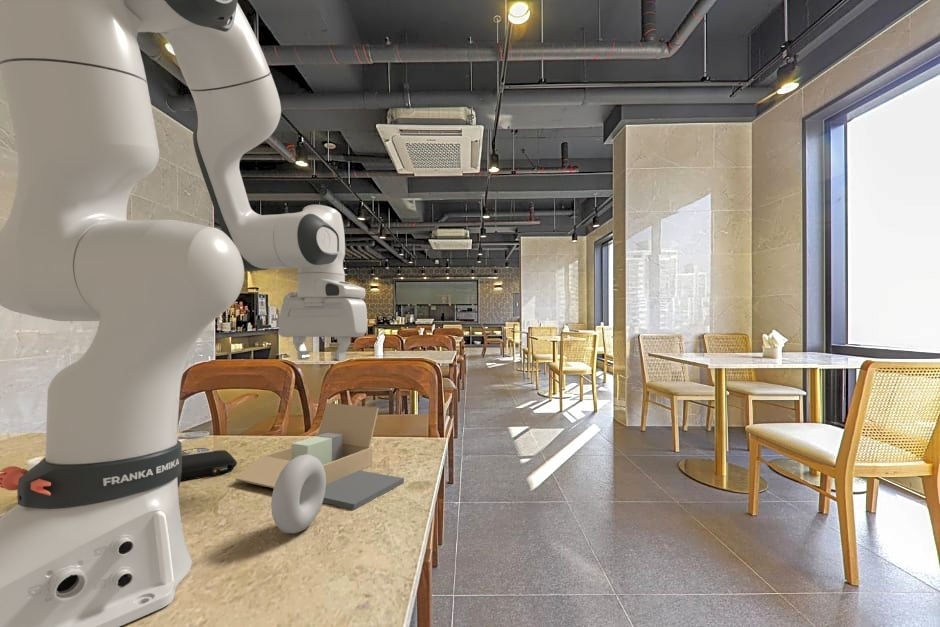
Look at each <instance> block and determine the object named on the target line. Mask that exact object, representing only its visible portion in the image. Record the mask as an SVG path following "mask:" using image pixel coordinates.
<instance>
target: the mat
mask: <svg viewBox="0 0 940 627" xmlns="http://www.w3.org/2000/svg"><path fill="white" fill-rule="evenodd" d="M404 483H405V478H404V477H399V476H394V475H389V474H381V473H377V472H372V471H365V470H359V471H357V472H355V473H352V474H350V475H348V476H345V477H343V478H341V479H338V480H336V481H334V482H331V483H329V484H327V485H326V488H325V495H324V499H323V503H322V504H328V505H333V506H337V507H341V508H345V509H349V510H356V509H358V508H360V507H362V506H364V505H366V504H367V503H368V502H371V501H373V500H375V499H376V498H378V497H380V496H381V495H384V494H386V493H387V492H389V491H391V490H393V489H394V488H396V487H399V486H400V485H403V484H404Z"/></svg>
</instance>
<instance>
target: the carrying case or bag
mask: <svg viewBox="0 0 940 627" xmlns="http://www.w3.org/2000/svg"><path fill="white" fill-rule="evenodd" d="M237 464H238V462H237V460H236V459H235V458H234V457H233V455H231V453H229V452H228V451H227V450H224V449H221V450H211V451H209V452H205V453H198V454H191V455H185V456H182V473H181V480H180V482H181V481H188V480H189V481H190V480H194V479H199V478H204V477H210V476H215V475H220V474H225V473H230V472H232V471H233V470H234V469H235V468H236V467H237Z"/></svg>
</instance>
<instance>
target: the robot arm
mask: <svg viewBox="0 0 940 627" xmlns="http://www.w3.org/2000/svg"><path fill="white" fill-rule="evenodd" d="M138 33H152V34H153V33H154V34H155V33H157V34H160V35H161V36H162V37H163V38H164V39H165V40H166V42H168V43H169V45H170V46H171V48H172V51H173V53H174V56H175V58H176V61H177V64H178V66H179V67H178V68H179V69H180V71H181V73H182V76H183V78H184V80H185V83H186V85H187V87H188V89H189V91H190V93H191V96H192V98H193V101H194V105H195V109H196V115H197V125H196V126H195V128H194V129H193V134H192V141H193V148H194V152H195V155H196V159H197V162H198V165H199V168H200V172H201V174H202V177H203V180H204V182H205V186H206V189H207V191H208V194H209V198H210V200H211V203H212V206H213V209H214V211H215V215H216V217H217V220H218V222H219V223H218V224H219V226H220V227H219V228H220V229H219V228H217V227H213V226H209V225H204V224H199V223H194V222H189V221H188V222H187V221H182V220H176V219H128V218H127V217H128V216H127V215H128V214H127V213H128V212H127V211H128V205H129V199H130V196H131V193H132V192H133V189H134V188H135V186H136V185H137V184H138V183H139V182H140V181H142V180H143V179H145V178H146V177H148V176H149V175H150V174H152V173H153V171H154V170H155V169H156V167H157V166H158V163H159V160H160V148H159V140H158V136H157V130H156V124H155V123H156V122H155V119H154V114H153V108H152V102H151V101H152V100H151V97H150V91H149V87H148V81H147V76H146V70H145V65H144V61H143V58H142V54H141V50H140V45H139V42H138V38H137V37H138ZM0 75H1V79H2V83H3V86H4V88H3V89H4V92H5V96H6V100H7V104H8V109H9V114H10V118H11V123H12V127H13V132H14V138H15V141H16V148H17V158H18V169H17V175H18V176H17V182H16V189H15V193H14V194H15V195H14V199H13V203H12V205H11V209H10V212H9V214H8V217H7V220H6V222H5V224H4V225H3V226H2V228H1V229H0V306H2V307H3V308H4V309H7V310H9V311H12V312H14V313H19V314H23V315H26V316H30V317H31V316H32V317H35V318H42V319H46V320H52V321H58V322H98V327H97V329H96V330H97V331H96V333H95V335H94V337H93V339H92V342H91V344H90V345H89V347H88V349H87V350H86V351H85V353H84V354H83V355H82V356H81V357H80V358H79V359H78V360H77V361H75V362H73V363H71V364H69V365H68V366H66V367H64V368H62V369H61V370H60V371H59V372H57V373H56V374H55V375H54V376H53V377H52V380H51V382H50V383H49V385H48V388H47V401H46V404H47V405H46V426H45V427H46V431H45V432H46V433H45V434H46V435H45V440H46V441H45V456H44V457H43V459H41V460H40V461H38V463H36V464H35V465H34V466H33V467H31V468H30V469H29V470H27V469H25V468H21V467H19V466H14V465H13V466H7V467H5V468H3V469H1V470H0V488H2V489H5V490H7V491H17V497H16V498H17V505H15V506H13V507H12V508H11V509H10V510H9V511H7V512H6V513H5V514H4V515H2V516H0V627H121V626H124V625H126V624H129V623H131V622H133V621H136V620H138V619H140V618H143V617H145V616H147V615H149V614H151V613H154V612H156V611H159V610H160V609H163V608H165V607H166V606H168V605H170V604H171V603H172V601H173V600H174V599H175V595H176V588H177V586H178V585H179V584H180V582H182V580H183V579H184V578H185V577H186V576H187V575H188V573H190V571H191V568H192V564H193V561H192V557H191V554H190V552H189V549H188V544H187V543H186V542H187V541H186V539H185V534H184V529H183V523H182V516H181V508H180V507H181V506H180V497H179V487H180V484H181V481H180V480H181V473H182V451H183V449H182V441H180V439H178V430H179V429H178V428H179V427H178V426H179V411H180V410H179V408H180V396H181V395H180V394H181V387H182V386H181V385H182V379H183V374H184V369H185V367H186V364H187V361H188V359H189V356H190V353H191V351H192V350H193V348H194V346H195V345H196V342H197V341H198V339H199V338H200V336H201V335H202V333H203V332H204V331H205V330H206V329H207V327H208V326H210V324H211V323H212V322H213V321H214V320H216V319H217V318H219V316H220V315H222V314H223V313H225V312H226V311H227V310H228V309H230V308H231V307H232V306H233V304H234V303H235V302H236V300H238V297H239V296H240V294H241V291H242V290H243V287H244V286H243V285H244V280H245V272H257V271H258V272H259V271H266V270H267V271H268V270H272V269H273V270H275V269H295V268H297V269H298V270H297V291H289V292H288V293H287V294H286V295H285V296H284V297H283V299H282V304H281V306H280V312H279V321H278V332H279V334H280V336H281V337H287V338H288V337H292V344H293V345H294V348H295V349H296V352H297V353H296V356H297V357H296V358H297V360H299V361H307V360H309V359H310V350H307V346H306V345H305V343H306V342H307V338H311V337H312V338H315V337H317V338H321V337H322V338H326V337H327V338H328V337H329V338H336V339H337V340H336V342H337V344H338V346H337V349H336V351H333V352H332V354H333V355H332V356H333V361H334V362H345V360H346V352H347V350H348V348H349V346H350V344H351V338H363V337H364V336H365V334H366V333H367V331H368V310H367V304H366V302H365V301H364V300H363V299H365V297H366V288H364V287H363V286H359V285H357V284H353V283H351V282H347V281H345V280H346V273H345V270H344V259H345V256H346V241H345V240H346V239H345V238H346V237H345V229H344V228H345V226H344V221H343V217H342V214H341V213H340V212H339V211H338V210H337V209H336V208H333V207H331V206H328V205H325V204H309V205H307V206H304V207H303V208H302V211H297V212H292V213H291V212H288V213H280V214H279V213H278V214H263V215H262V214H259V213H257V212H255V211H254V210H253V209H252V207H251V204H250V202H249V199H248V195H247V192H246V187H245V185H244V181H243V177H242V174H241V170H240V162H241V160H242V157H243V156H244V155H245V154H246V153H247V152H249V151H251V150H252V149H255V148H256V147H258V146H259V145H261V144H263V143H264V141H266V140H267V139H269V138H270V137H271V136H272V135H273V134H274V132H275V131H276V129H277V127H278V125H279V123H280V119H281V115H282V106H281V100H280V96H279V92H278V88H277V87H276V84H275V80H274V78H273V75H272V73H271V70H270V67H269V65H268V62H267V59H266V57H265V55H264V52H263V50H262V47H261V45H260V43H259V40H258V39H257V36H256V34H255V32H254V31H253V29H252V27H251V24H250V23H249V21H248V19H247V17H246V15H245V13H244V12H243V9H242V8H241V6H240V4H239V3H238V0H0Z"/></svg>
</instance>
